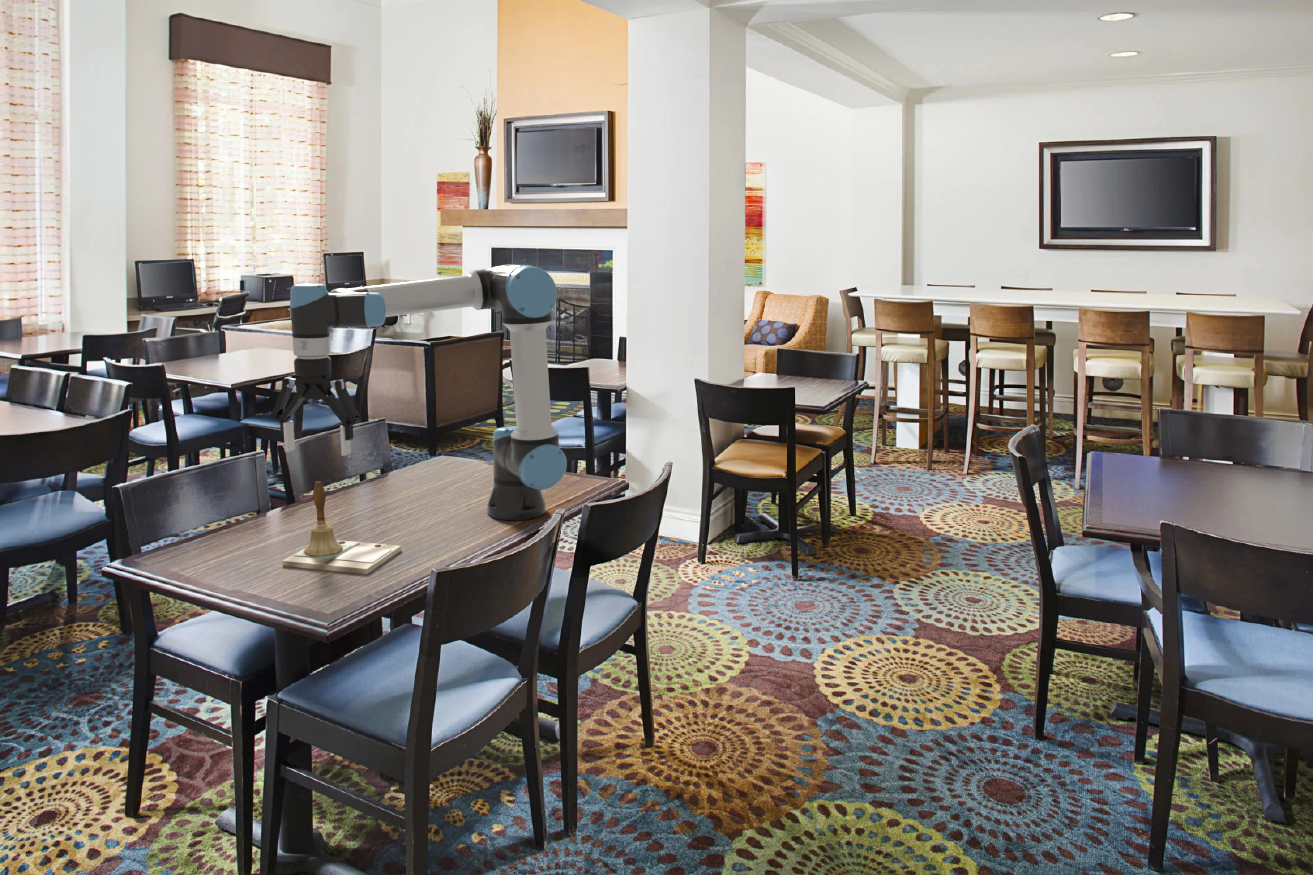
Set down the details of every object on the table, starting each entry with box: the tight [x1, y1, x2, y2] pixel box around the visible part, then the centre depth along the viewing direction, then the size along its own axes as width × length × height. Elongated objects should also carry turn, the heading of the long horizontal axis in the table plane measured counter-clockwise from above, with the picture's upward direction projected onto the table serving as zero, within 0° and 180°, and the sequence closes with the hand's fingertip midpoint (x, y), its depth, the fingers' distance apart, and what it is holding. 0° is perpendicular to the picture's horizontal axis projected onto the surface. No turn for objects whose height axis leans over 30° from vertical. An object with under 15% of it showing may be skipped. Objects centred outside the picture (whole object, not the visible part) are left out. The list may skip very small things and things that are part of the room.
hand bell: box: [303, 480, 343, 556], centre depth 214 cm, size 8×8×16 cm
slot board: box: [281, 539, 402, 575], centre depth 215 cm, size 20×16×1 cm
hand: (318, 452), depth 211 cm, fingers open, 13 cm apart
